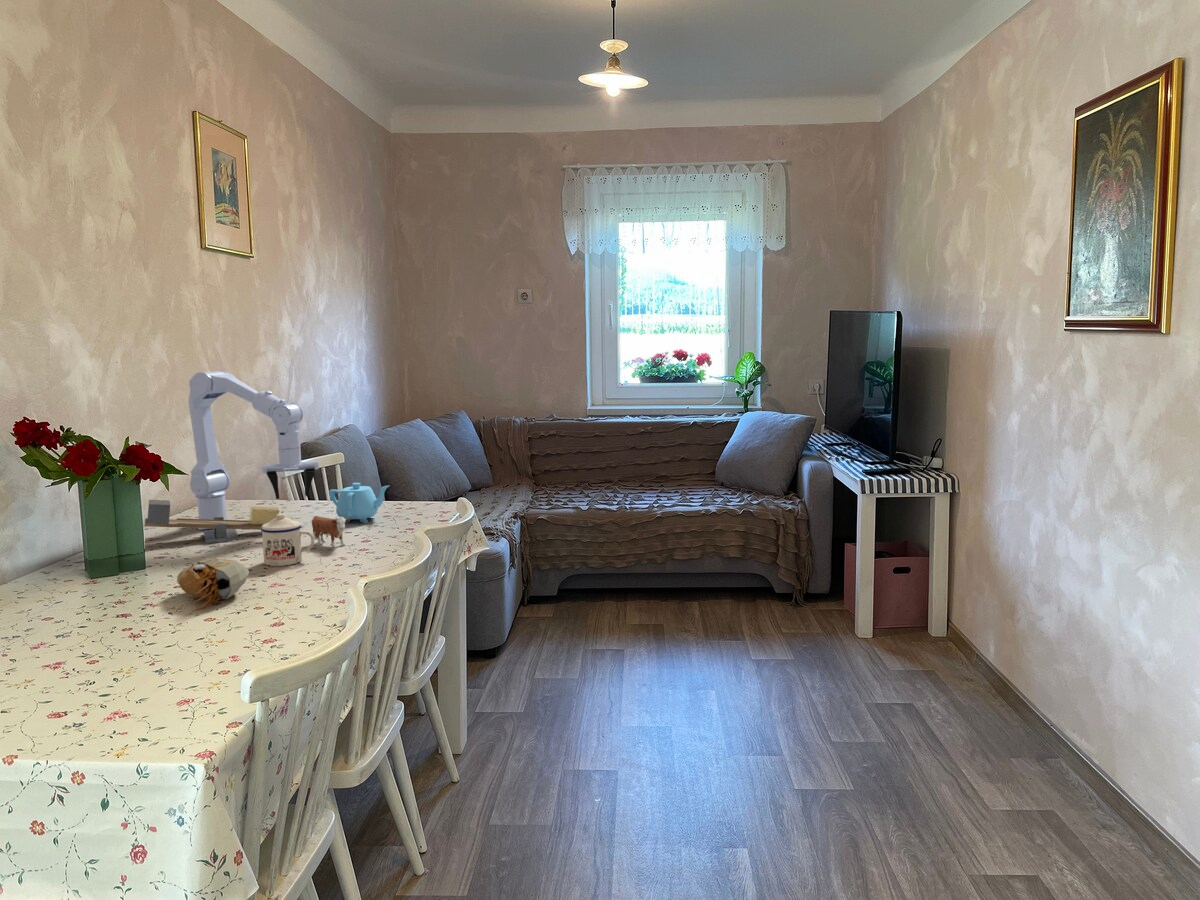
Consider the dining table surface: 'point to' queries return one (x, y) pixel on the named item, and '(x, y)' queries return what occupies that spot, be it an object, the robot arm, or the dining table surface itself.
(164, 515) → the beam
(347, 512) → the teapot
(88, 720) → the dining table surface
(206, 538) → the pivot stand
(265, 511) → the block
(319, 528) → the bull figurine
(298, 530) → the teacup with lid
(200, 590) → the nautilus
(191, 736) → the dining table surface
